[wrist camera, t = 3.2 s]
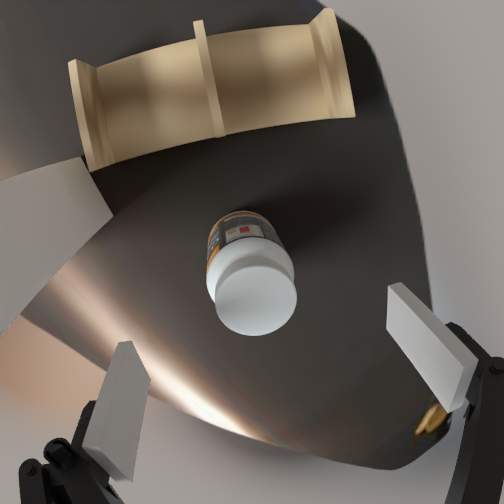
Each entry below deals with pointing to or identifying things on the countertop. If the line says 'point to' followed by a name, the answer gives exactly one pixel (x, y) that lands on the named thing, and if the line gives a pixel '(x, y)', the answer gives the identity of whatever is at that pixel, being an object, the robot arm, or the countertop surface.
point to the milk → (43, 228)
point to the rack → (211, 88)
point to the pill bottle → (249, 274)
